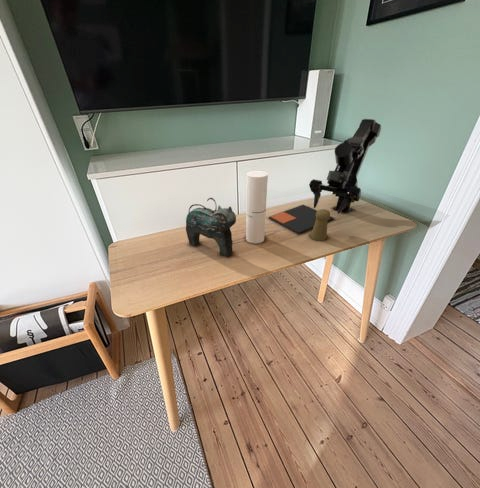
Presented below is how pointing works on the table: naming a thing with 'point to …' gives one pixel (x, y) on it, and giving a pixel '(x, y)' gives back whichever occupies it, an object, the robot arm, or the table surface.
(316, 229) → the cork
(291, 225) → the rubber mat
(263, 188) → the cylindrical container
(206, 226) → the ceramic cat
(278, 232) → the table surface
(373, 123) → the robot arm
